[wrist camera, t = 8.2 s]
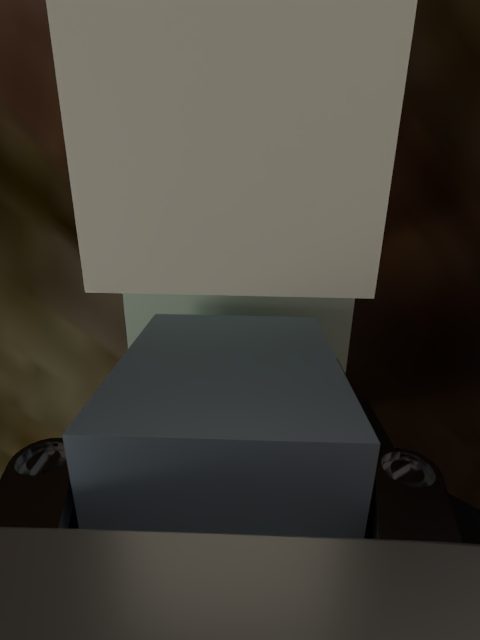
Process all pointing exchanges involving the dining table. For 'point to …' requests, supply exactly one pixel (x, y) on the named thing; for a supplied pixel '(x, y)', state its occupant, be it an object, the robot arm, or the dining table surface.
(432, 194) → the dining table surface
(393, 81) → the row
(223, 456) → the block
